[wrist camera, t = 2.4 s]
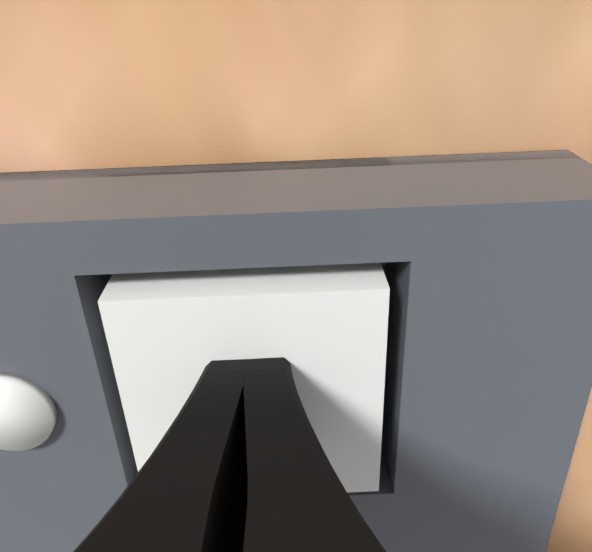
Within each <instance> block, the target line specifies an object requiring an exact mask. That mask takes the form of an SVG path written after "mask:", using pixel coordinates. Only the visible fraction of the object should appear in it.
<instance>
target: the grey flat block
mask: <svg viewBox="0 0 592 552" xmlns="http://www.w3.org/2000/svg"><path fill="white" fill-rule="evenodd" d="M361 263H381V265H382V268H383V271H384V274H385V277H386V279H387V282H388V285H389V288H390V296H389V314H388V332H387V351H386V369H385V387H384V406H383V424H382V442H381V461H380V479H379V491H369V492H347V493H348V495H349V496H350V498H351V500H352V501H353V503H354V505H355V506H356V508H357V509H358V511H359V512H360V514H361V516H362V517H363V519H364V520H365V522H366V523H367V525H368V526H369V528H370V529H371V531H372V532H373V533H374V535H375V536H376V538H377V539H378V541H379V542H380V544H381V545H382V547H383V548H384V549H385V551H386V552H545V550H546V547H547V543H548V540H549V536H550V533H551V529H552V525H553V522H554V518H555V515H556V511H557V508H558V504H559V501H560V497H561V493H562V490H563V486H564V483H565V479H566V476H567V472H568V469H569V465H570V461H571V458H572V454H573V451H574V447H575V444H576V440H577V437H578V433H579V429H580V426H581V422H582V419H583V415H584V412H585V408H586V405H587V401H588V397H589V394H590V390H591V387H592V164H590V163H588V162H587V161H585V160H583V159H582V158H580V157H579V156H577V155H575V154H574V153H572V152H571V151H569V150H551V151H527V152H502V153H477V154H453V155H428V156H404V157H379V158H355V159H330V160H306V161H281V162H257V163H232V164H208V165H183V166H159V167H134V168H110V169H85V170H60V171H36V172H11V173H0V552H73V551H74V550H75V549H76V548H77V547H78V545H79V544H80V543H81V542H82V541H83V540H84V539H85V538H86V536H87V535H88V534H89V533H90V532H91V531H92V530H93V528H94V527H95V526H96V525H97V524H98V522H99V521H100V520H101V519H102V518H103V517H104V515H105V514H106V513H107V512H108V510H109V509H110V508H111V507H112V506H113V504H114V503H115V502H116V501H117V499H118V498H119V497H120V496H121V494H122V493H123V492H124V490H125V489H126V488H127V486H128V485H129V484H130V482H131V481H132V480H133V478H134V477H135V476H136V474H137V473H138V470H137V466H136V461H135V457H134V453H133V449H132V445H131V440H130V436H129V432H128V428H127V423H126V419H125V415H124V411H123V407H122V402H121V398H120V394H119V390H118V386H117V381H116V377H115V373H114V369H113V365H112V360H111V356H110V352H109V348H108V343H107V339H106V335H105V331H104V327H103V322H102V318H101V314H100V310H99V306H98V300H99V298H100V296H101V294H102V292H103V291H104V289H105V287H106V285H107V283H108V281H109V280H110V278H111V276H112V274H125V273H149V272H172V271H196V270H219V269H243V268H266V267H290V266H314V265H337V264H361Z"/></svg>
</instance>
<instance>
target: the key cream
mask: <svg viewBox="0 0 592 552" xmlns="http://www.w3.org/2000/svg"><path fill="white" fill-rule="evenodd" d="M389 296H390V288H389V285H388V282H387V279H386V277H385V274H384V271H383V268H382V265H381V263H361V264H337V265H314V266H290V267H266V268H243V269H219V270H196V271H172V272H149V273H125V274H112V276H111V278H110V280H109V281H108V283H107V285H106V287H105V289H104V291H103V292H102V294H101V296H100V298H99V300H98V306H99V310H100V314H101V318H102V322H103V327H104V331H105V335H106V339H107V343H108V348H109V352H110V356H111V360H112V365H113V369H114V373H115V377H116V381H117V386H118V390H119V394H120V398H121V402H122V407H123V411H124V415H125V419H126V423H127V428H128V432H129V436H130V440H131V445H132V449H133V453H134V457H135V461H136V466H137V470H138V472H139V470H140V469H141V468H142V466H143V465H144V464H145V462H146V461H147V460H148V458H149V457H150V455H151V454H152V453H153V451H154V450H155V448H156V447H157V445H158V444H159V442H160V441H161V439H162V438H163V436H164V435H165V433H166V432H167V430H168V429H169V427H170V426H171V424H172V423H173V421H174V420H175V418H176V417H177V415H178V414H179V412H180V410H181V409H182V407H183V406H184V404H185V402H186V401H187V399H188V397H189V396H190V394H191V392H192V390H193V389H194V387H195V385H196V383H197V382H198V380H199V378H200V376H201V374H202V372H203V370H204V368H205V366H206V365H207V364H209V363H210V362H211V361H214V360H237V359H259V358H279V357H284V358H285V359H287V360H288V361H289V362H290V363H291V370H292V375H293V379H294V382H295V386H296V389H297V392H298V394H299V397H300V400H301V402H302V405H303V407H304V410H305V412H306V415H307V417H308V419H309V422H310V424H311V426H312V428H313V430H314V432H315V434H316V436H317V438H318V440H319V442H320V444H321V446H322V448H323V450H324V452H325V454H326V456H327V458H328V460H329V462H330V464H331V465H332V467H333V469H334V471H335V473H336V474H337V476H338V478H339V479H340V481H341V483H342V485H343V486H344V488H345V490H346V492H369V491H379V479H380V461H381V442H382V424H383V406H384V387H385V369H386V351H387V332H388V314H389Z"/></svg>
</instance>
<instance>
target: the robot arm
mask: <svg viewBox="0 0 592 552" xmlns="http://www.w3.org/2000/svg"><path fill="white" fill-rule="evenodd" d="M73 552H386V551H385V549H384V548H383V547H382V545H381V544H380V542H379V541H378V539H377V538H376V536H375V535H374V533H373V532H372V531H371V529H370V528H369V526H368V525H367V523H366V522H365V520H364V519H363V517H362V516H361V514H360V512H359V511H358V509H357V508H356V506H355V505H354V503H353V501H352V500H351V498H350V496H349V495H348V493H347V492H346V490H345V488H344V486H343V485H342V483H341V481H340V479H339V478H338V476H337V474H336V473H335V471H334V469H333V467H332V465H331V464H330V462H329V460H328V458H327V456H326V454H325V452H324V450H323V448H322V446H321V444H320V442H319V440H318V438H317V436H316V434H315V432H314V430H313V428H312V426H311V424H310V422H309V419H308V417H307V415H306V412H305V410H304V407H303V405H302V402H301V400H300V397H299V394H298V392H297V389H296V386H295V382H294V379H293V375H292V370H291V363H290V362H289V361H288V360H287V359H285V358H284V357H279V358H259V359H237V360H214V361H211V362H210V363H209V364H207V365H206V366H205V368H204V370H203V372H202V374H201V376H200V378H199V380H198V382H197V383H196V385H195V387H194V389H193V390H192V392H191V394H190V396H189V397H188V399H187V401H186V402H185V404H184V406H183V407H182V409H181V410H180V412H179V414H178V415H177V417H176V418H175V420H174V421H173V423H172V424H171V426H170V427H169V429H168V430H167V432H166V433H165V435H164V436H163V438H162V439H161V441H160V442H159V444H158V445H157V447H156V448H155V450H154V451H153V453H152V454H151V455H150V457H149V458H148V460H147V461H146V462H145V464H144V465H143V466H142V468H141V469H140V470H139V472H138V473H137V474H136V476H135V477H134V478H133V480H132V481H131V482H130V484H129V485H128V486H127V488H126V489H125V490H124V492H123V493H122V494H121V496H120V497H119V498H118V499H117V501H116V502H115V503H114V504H113V506H112V507H111V508H110V509H109V510H108V512H107V513H106V514H105V515H104V517H103V518H102V519H101V520H100V521H99V522H98V524H97V525H96V526H95V527H94V528H93V530H92V531H91V532H90V533H89V534H88V535H87V536H86V538H85V539H84V540H83V541H82V542H81V543H80V544H79V545H78V547H77V548H76V549H75V550H74V551H73Z"/></svg>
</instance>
